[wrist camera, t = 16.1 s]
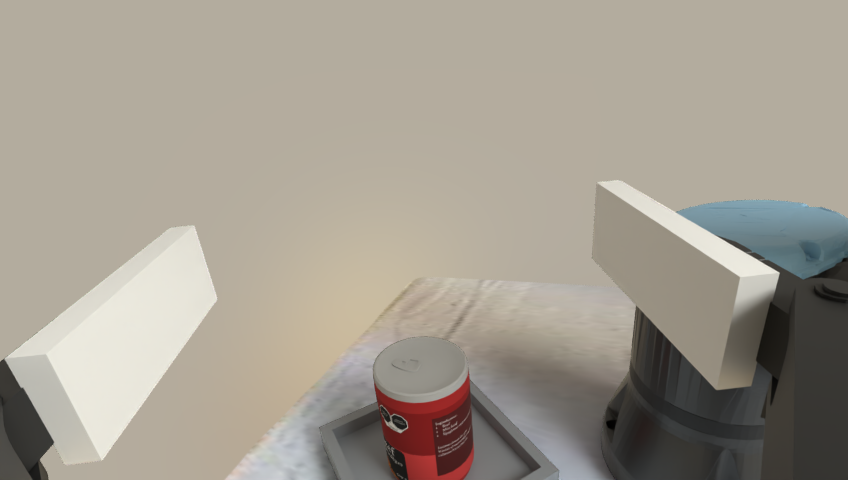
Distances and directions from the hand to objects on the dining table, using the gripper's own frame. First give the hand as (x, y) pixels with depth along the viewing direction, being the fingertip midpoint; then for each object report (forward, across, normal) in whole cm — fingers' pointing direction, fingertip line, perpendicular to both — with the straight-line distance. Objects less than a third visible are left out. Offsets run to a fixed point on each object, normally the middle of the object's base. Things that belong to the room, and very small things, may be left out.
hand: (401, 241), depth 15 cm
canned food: (+16, 0, -29) cm, 33 cm away
